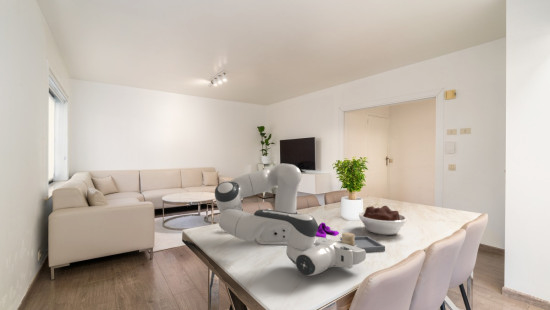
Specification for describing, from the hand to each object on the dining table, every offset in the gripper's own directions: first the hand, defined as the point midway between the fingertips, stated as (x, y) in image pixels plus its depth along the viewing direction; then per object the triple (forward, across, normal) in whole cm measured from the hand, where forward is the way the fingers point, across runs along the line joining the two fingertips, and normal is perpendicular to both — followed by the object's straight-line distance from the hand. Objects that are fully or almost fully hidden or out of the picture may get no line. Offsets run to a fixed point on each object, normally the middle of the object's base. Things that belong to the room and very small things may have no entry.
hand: (349, 244), depth 107 cm
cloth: (+22, -31, -7) cm, 38 cm away
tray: (+19, -4, -6) cm, 20 cm away
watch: (+7, -57, -6) cm, 58 cm away
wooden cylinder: (-1, 0, -6) cm, 6 cm away
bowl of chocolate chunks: (+48, -7, -7) cm, 49 cm away
